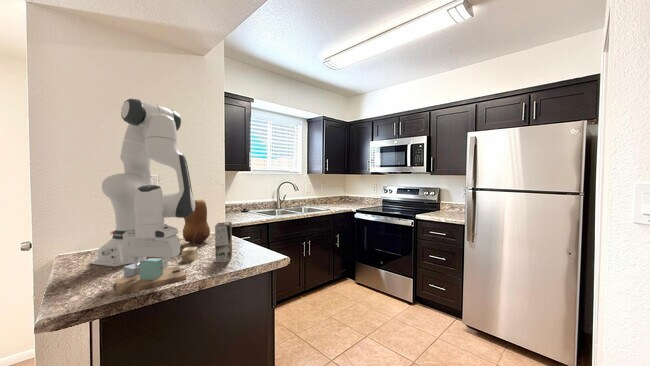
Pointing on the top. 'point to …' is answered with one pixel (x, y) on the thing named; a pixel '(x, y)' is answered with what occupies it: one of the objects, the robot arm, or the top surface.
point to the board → (137, 284)
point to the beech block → (189, 254)
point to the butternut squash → (197, 224)
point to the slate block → (131, 270)
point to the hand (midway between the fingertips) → (151, 268)
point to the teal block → (151, 268)
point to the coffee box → (223, 242)
